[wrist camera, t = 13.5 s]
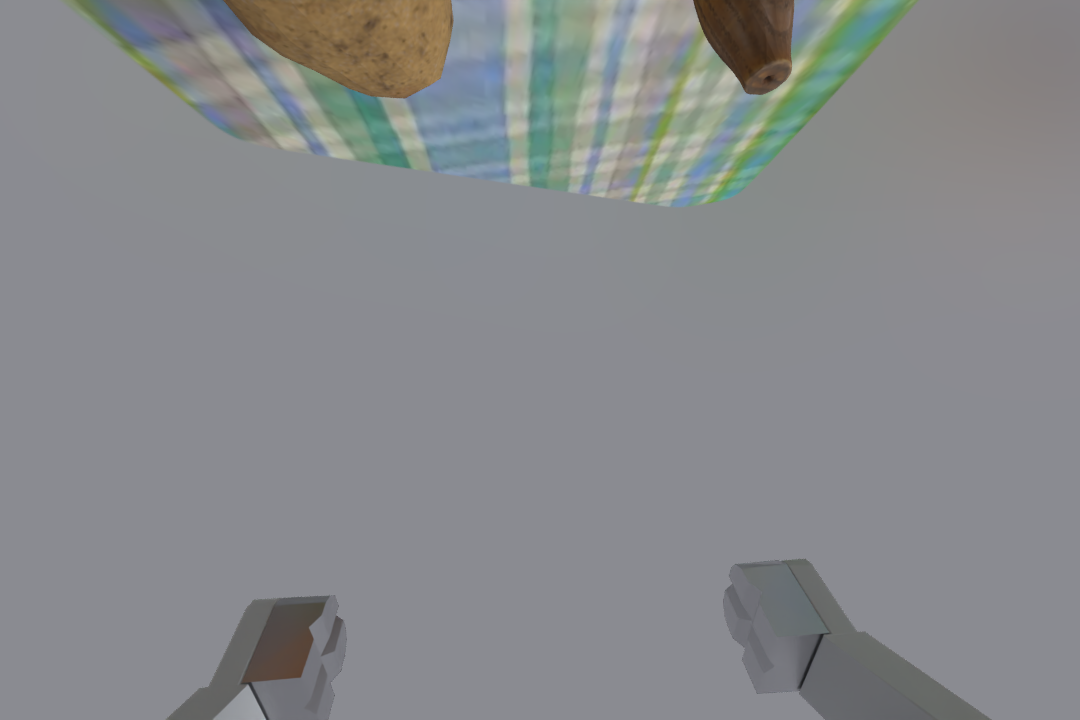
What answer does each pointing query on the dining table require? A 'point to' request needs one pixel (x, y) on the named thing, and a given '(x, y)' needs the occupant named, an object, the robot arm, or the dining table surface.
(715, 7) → the hand bell
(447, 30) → the potato
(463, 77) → the dining table surface
